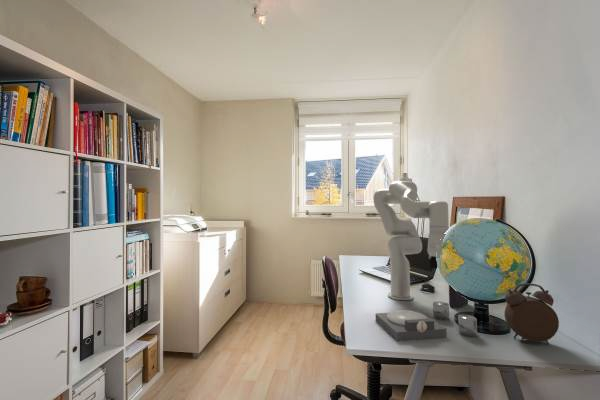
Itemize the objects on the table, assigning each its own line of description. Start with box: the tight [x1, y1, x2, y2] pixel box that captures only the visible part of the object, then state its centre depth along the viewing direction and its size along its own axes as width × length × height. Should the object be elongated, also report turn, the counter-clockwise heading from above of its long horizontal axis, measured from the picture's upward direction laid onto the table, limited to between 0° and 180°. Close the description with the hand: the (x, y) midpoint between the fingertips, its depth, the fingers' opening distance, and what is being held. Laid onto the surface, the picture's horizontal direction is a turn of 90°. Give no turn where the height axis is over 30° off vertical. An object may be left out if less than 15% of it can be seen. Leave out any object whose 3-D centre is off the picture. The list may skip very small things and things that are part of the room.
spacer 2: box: [457, 314, 478, 338], centre depth 109 cm, size 6×6×6 cm
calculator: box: [448, 284, 469, 309], centre depth 140 cm, size 11×4×15 cm, turn 123°
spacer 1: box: [432, 301, 450, 322], centre depth 124 cm, size 6×6×6 cm
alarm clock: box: [504, 282, 560, 345], centre depth 102 cm, size 15×7×20 cm, turn 78°
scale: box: [375, 309, 448, 342], centre depth 114 cm, size 19×19×6 cm
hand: (440, 270), depth 125 cm, fingers open, 9 cm apart
